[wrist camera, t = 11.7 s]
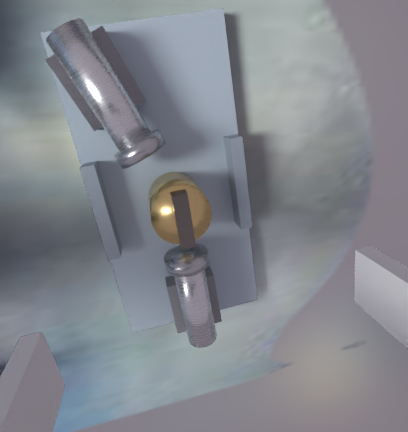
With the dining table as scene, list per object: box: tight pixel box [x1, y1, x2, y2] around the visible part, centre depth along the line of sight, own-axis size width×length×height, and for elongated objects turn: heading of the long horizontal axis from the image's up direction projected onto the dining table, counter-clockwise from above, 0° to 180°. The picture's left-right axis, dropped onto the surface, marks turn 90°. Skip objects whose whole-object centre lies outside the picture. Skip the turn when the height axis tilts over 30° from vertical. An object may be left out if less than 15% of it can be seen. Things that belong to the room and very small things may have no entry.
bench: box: [40, 8, 258, 333], centre depth 30 cm, size 15×30×4 cm, turn 9°
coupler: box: [148, 172, 212, 249], centre depth 27 cm, size 5×5×7 cm
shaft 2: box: [164, 243, 217, 347], centre depth 31 cm, size 4×10×4 cm, turn 9°
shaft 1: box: [46, 19, 166, 169], centre depth 24 cm, size 5×10×6 cm, turn 29°
